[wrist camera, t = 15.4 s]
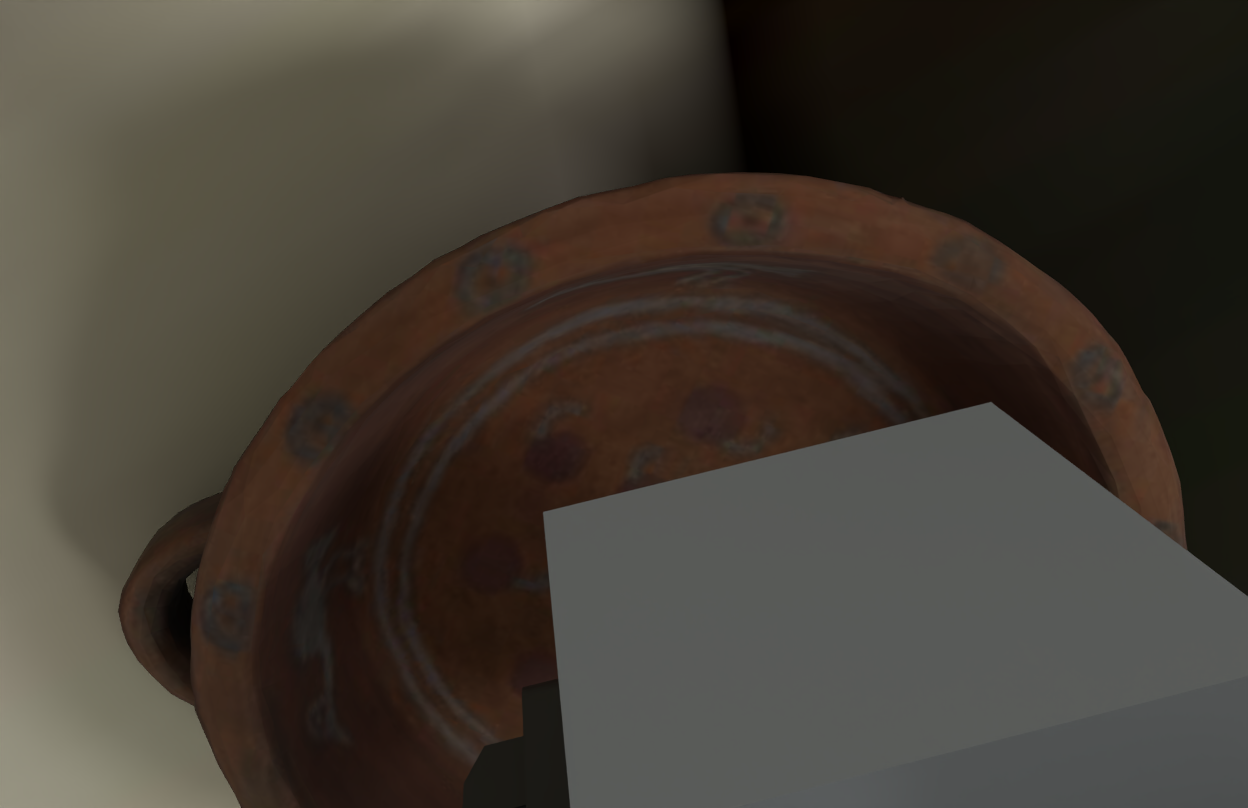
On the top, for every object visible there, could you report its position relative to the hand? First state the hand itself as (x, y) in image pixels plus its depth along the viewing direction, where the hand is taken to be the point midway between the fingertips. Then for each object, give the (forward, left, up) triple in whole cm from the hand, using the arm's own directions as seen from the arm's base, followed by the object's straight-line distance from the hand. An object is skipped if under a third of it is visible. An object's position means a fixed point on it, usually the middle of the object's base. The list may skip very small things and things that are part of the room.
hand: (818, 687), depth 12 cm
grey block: (0, 0, -1) cm, 1 cm away
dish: (-4, +1, -12) cm, 12 cm away
